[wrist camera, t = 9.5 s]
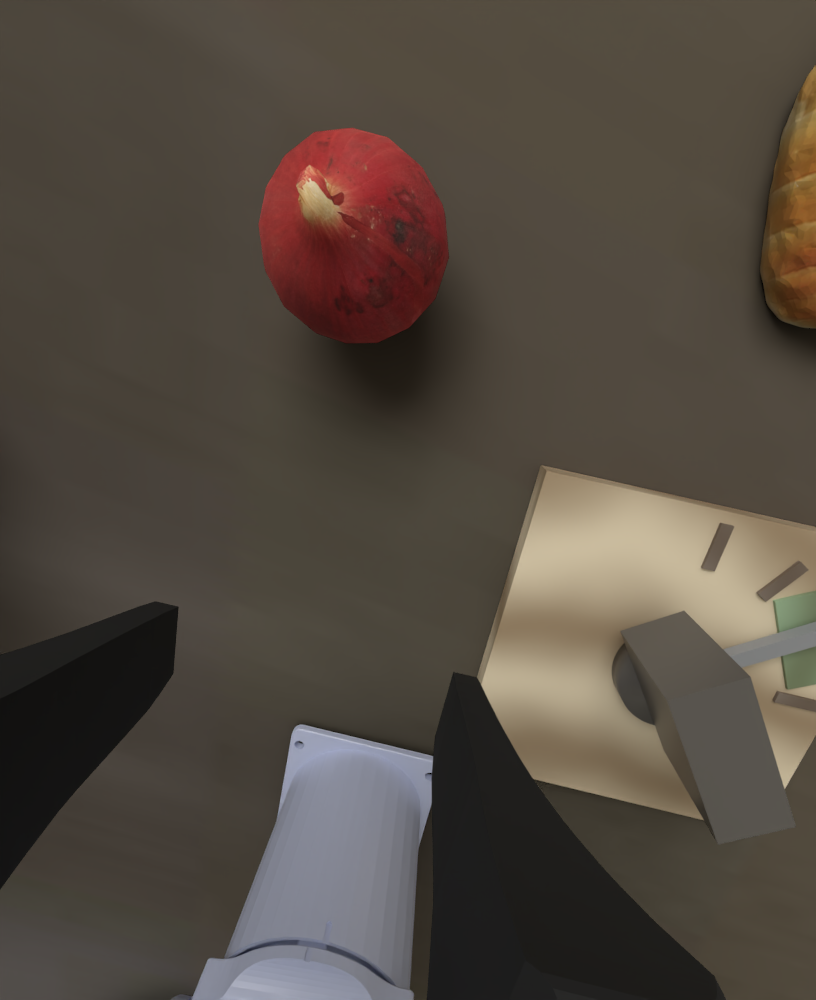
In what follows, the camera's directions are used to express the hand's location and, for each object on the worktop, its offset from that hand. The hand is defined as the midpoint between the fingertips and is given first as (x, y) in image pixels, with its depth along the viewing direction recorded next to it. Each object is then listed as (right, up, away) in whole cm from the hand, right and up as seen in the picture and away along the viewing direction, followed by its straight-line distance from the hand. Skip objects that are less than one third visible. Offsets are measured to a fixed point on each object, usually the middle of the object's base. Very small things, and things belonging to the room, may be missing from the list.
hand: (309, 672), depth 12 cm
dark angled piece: (+16, -2, +8) cm, 18 cm away
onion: (+1, +13, +7) cm, 15 cm away
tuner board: (+14, -3, +10) cm, 17 cm away
